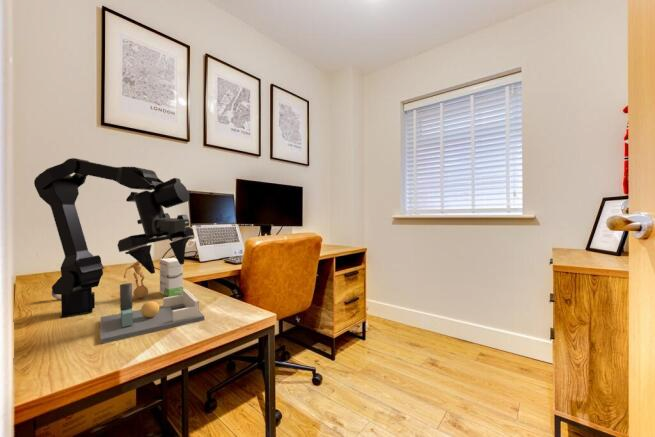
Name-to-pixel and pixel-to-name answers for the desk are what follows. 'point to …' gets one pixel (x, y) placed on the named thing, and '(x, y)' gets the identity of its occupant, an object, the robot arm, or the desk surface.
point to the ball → (150, 309)
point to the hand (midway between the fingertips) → (168, 268)
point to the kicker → (126, 304)
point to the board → (142, 323)
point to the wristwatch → (55, 296)
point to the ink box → (171, 277)
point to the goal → (184, 299)
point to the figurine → (140, 290)
